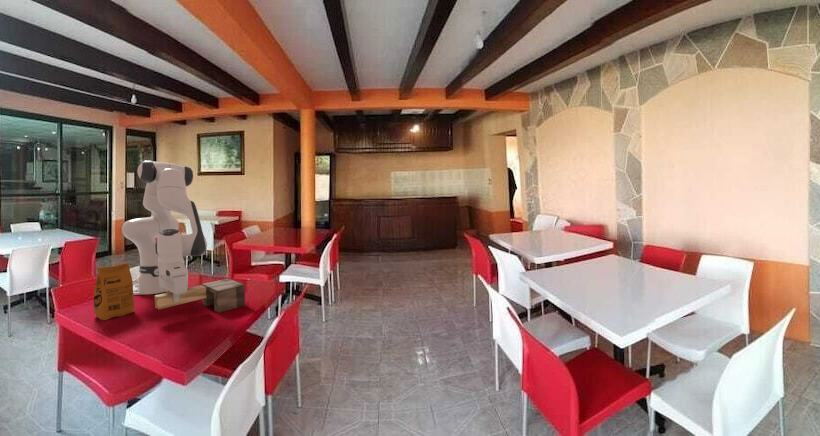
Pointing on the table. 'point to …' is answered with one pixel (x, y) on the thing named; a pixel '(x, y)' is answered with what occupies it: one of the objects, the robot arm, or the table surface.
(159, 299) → the slat
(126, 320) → the table surface
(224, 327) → the table surface
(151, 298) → the table surface
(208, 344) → the table surface
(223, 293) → the end cap
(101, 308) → the coffee package
